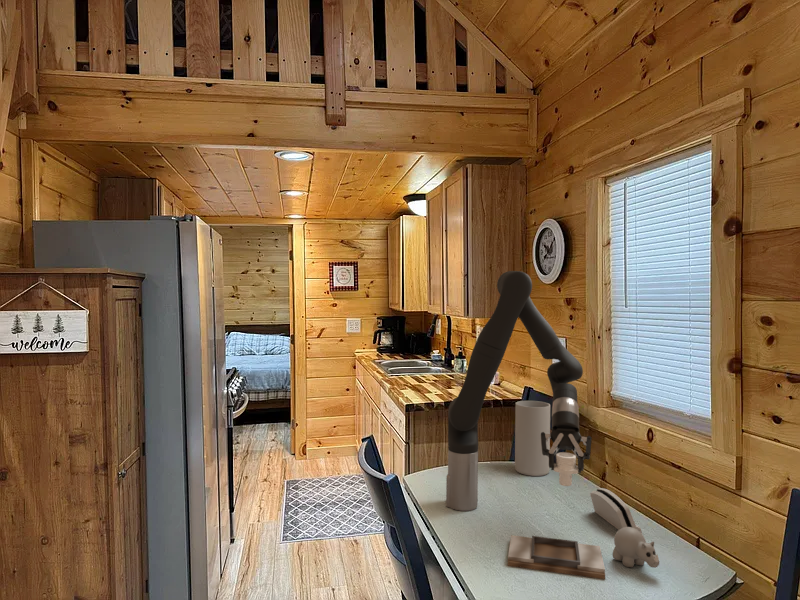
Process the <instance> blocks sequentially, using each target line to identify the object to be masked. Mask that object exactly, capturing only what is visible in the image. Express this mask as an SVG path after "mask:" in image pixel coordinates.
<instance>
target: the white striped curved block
mask: <svg viewBox="0 0 800 600" xmlns="http://www.w3.org/2000/svg"><path fill="white" fill-rule="evenodd" d="M589 495H590V497H591V498H590V499H591V502H592V506H593V509H594V513H595V514H597V515H598V516H600V517H601V518H602V519H604V520H605V521H606V522H607V523H608V524H610V525H611V526H613V527H614V528H615V529H617V531H618V530H620V529H621V528H624V527H632V528H635V529H637V530H638V531H639V532H641V533H642V528H641V527H639V526H638V525H637V524H636V523H635V520H634V518H633V514H632V513H631V510H630V508H629V506H628V505H627V504H626V503H625V501H623V500H622V499H621V498H620V497H619V496H618V495H617V494H616V493H614V492H612V491H611V490H609V489H607V488H603V487H601V488H597V489H596V490H592V491H591V492H590V493H589ZM642 534H643V533H642Z"/></svg>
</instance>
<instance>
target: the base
mask: <svg viewBox="0 0 800 600" xmlns="http://www.w3.org/2000/svg"><path fill="white" fill-rule="evenodd" d="M507 566H508V567H514V568H521V569H529V570H536V571H543V572H550V573H558V574H564V575H565V574H566V575H572V576H579V577H587V578H592V579H600V580H606V568H605V564H604V559H603V555H602V550H601V546H600V545H593V544H585V543H578V541H577V540H570V539H562V538H554V537H553V538H552V537H544V536H537V535H531V537H530V536H529V537H527V536H520V535H513V534H511V535H510V541H509V548H508V555H507Z"/></svg>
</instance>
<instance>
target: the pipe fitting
mask: <svg viewBox="0 0 800 600" xmlns="http://www.w3.org/2000/svg"><path fill="white" fill-rule="evenodd" d="M553 471H554V473H555V472H557V473H558V476H559V478H558V480H559V485H560V486H562V487H571V486H572V485H573V484H572V482H573V479H572V478H573V475H574V474H575V475H576V474H579V473H578V464H577V456H576V454H574V453H572V452H571V453H570V452H566V451H562V452H557V453H555V462H554V470H553Z"/></svg>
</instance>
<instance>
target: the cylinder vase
mask: <svg viewBox="0 0 800 600" xmlns="http://www.w3.org/2000/svg"><path fill="white" fill-rule="evenodd" d="M514 416H515V425H514V426H515V428H514V430H515V434H514V439H515V440H514V442H515V443H514V451H515V452H514V469H515V471H516V472H517V473H519V474H521V475H524V476H529V477H531V476H532V477H543V476H547V475H548V474H549V473H550V469H551V468H549V457H548V456H546V455H543V454H542V446H541V433H542V432H544V433H545V434H550V433H551V404H550V403H548V402H545V401H538V400H520V401H517V402H515V414H514ZM550 443H551V439H548V442H546V447H547V449H548V450H550V449H551V444H550Z"/></svg>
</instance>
